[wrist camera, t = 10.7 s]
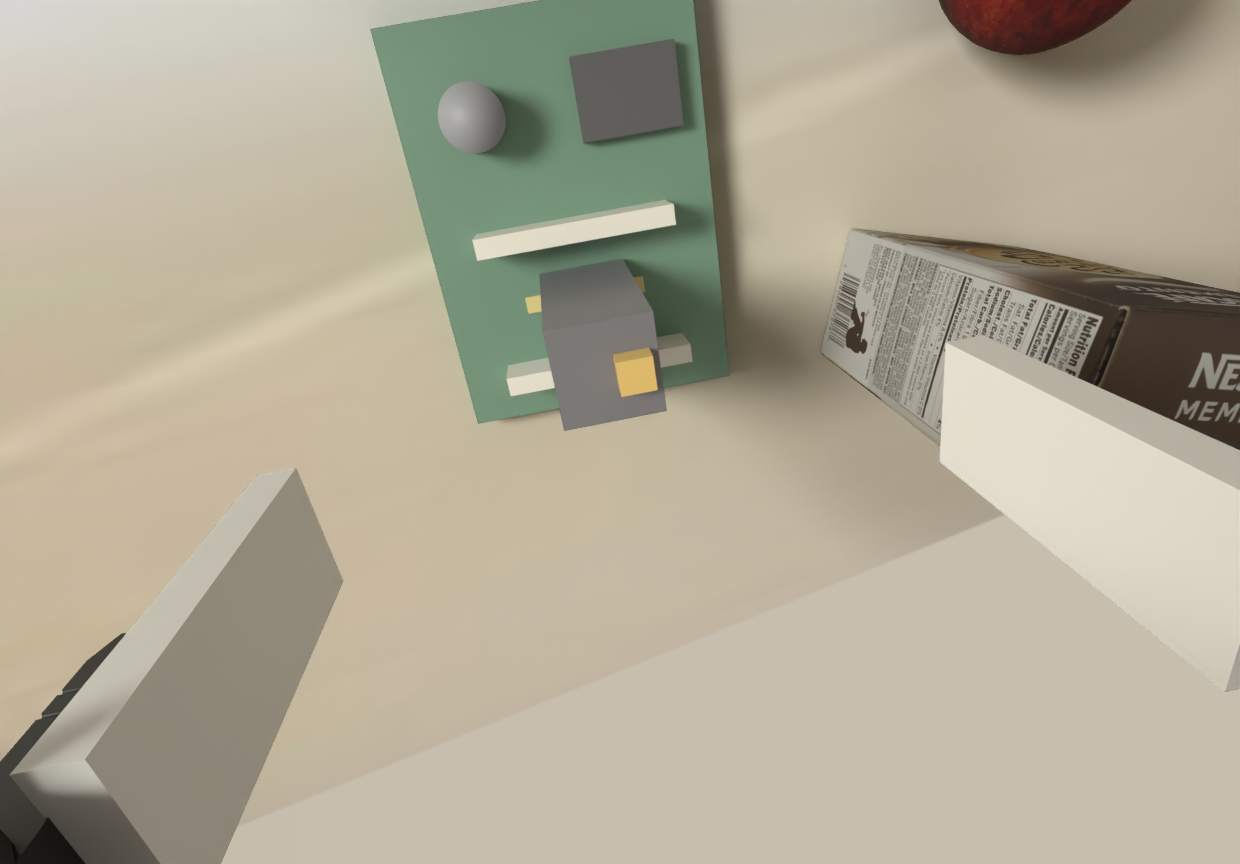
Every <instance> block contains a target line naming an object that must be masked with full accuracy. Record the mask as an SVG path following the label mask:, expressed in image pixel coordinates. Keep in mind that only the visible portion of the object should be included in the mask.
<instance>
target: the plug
mask: <svg viewBox="0 0 1240 864" xmlns="http://www.w3.org/2000/svg"><path fill="white" fill-rule="evenodd" d="M540 293H541V312H542V332H543V336H544V341H545V346H546V350H547V355H548V359H549V364H550V368H551V373H552V377H553V382H554V386H555V391H556V395H557V400H558V404H559V409H560V414H561V418H562V423H563V427H564V431H566V430H571V429H577V428H582V427H587V426H592V425H597V424H602V423H607V422H612V421H617V420H623V419H628V418H633V417H638V416H643V415H648V414H653V413H658V412H664V411H667V409H666V402H665V394H664V387H663V380H662V373H661V365H660V358H659V351H658V343H657V336H656V329H655V322H654V314H653V310H652V308H651V307H650V305H649V303H648V302H647V300H646V298H645V296H644V295H643V293H642V291H641V290H640V288H639V286H638V284H637V283H636V281H635V279H634V278H633V276H632V274H631V272H630V271H629V269H628V267H627V266H626V264H625V262H624V260H623V259H616V260H611V261H606V262H600V263H595V264H590V265H584V266H579V267H574V268H568V269H563V270H557V271H552V272H547V273H541V274H540Z"/></svg>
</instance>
